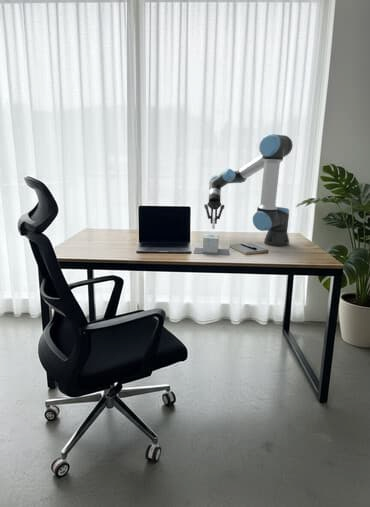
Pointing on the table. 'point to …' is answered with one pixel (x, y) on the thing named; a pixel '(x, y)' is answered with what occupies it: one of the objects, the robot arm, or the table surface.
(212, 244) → the ink box
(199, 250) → the felt pad
